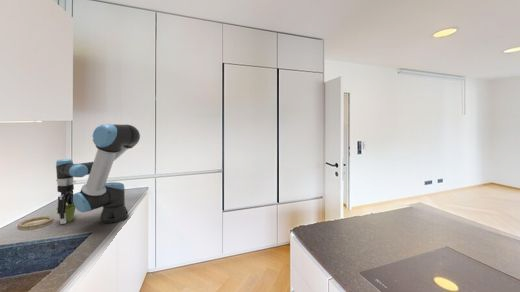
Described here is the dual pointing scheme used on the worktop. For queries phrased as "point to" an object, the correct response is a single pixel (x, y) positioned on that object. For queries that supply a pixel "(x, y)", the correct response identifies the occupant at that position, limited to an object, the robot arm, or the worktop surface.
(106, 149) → the robot arm
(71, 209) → the plant pot
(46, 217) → the round wooden tray
